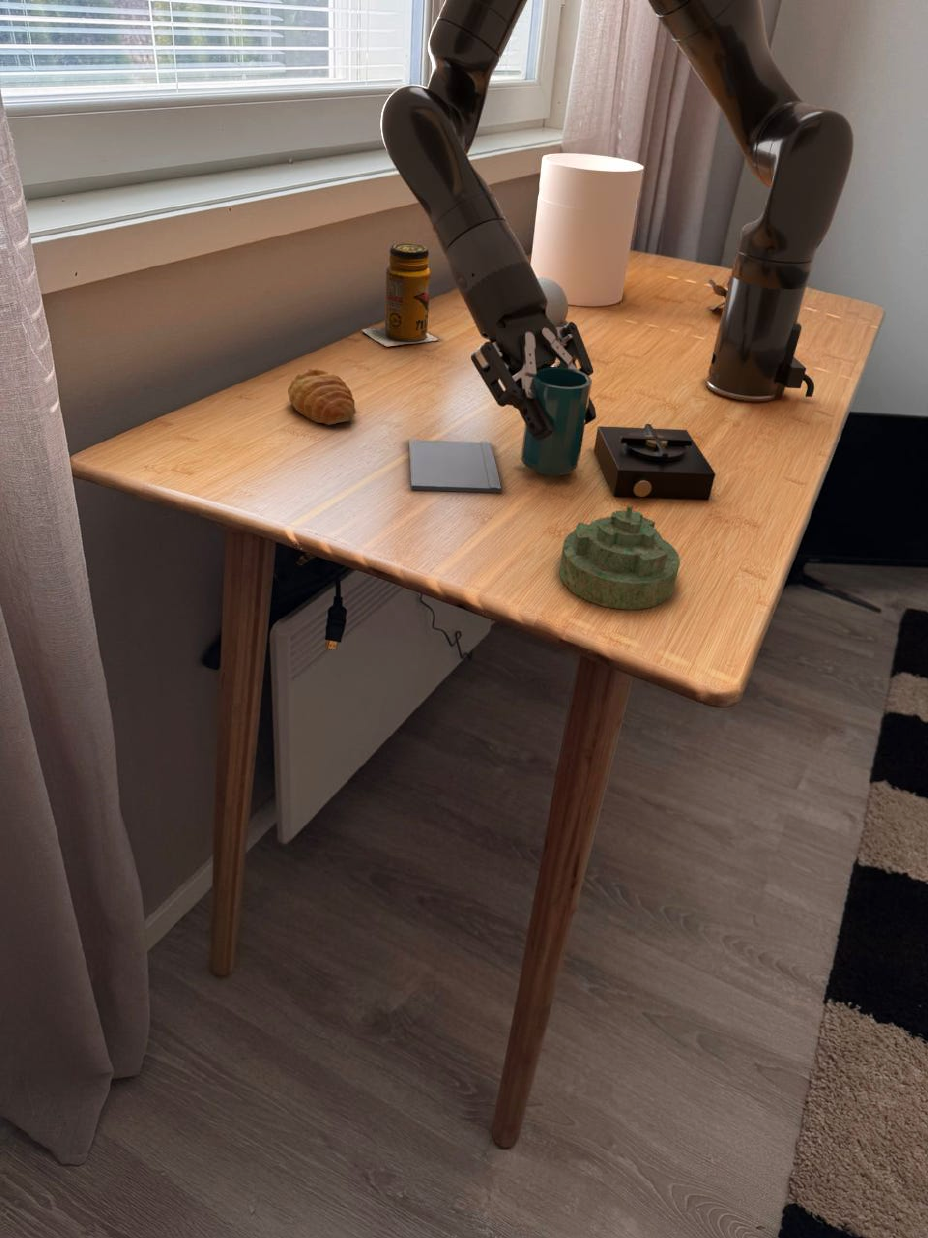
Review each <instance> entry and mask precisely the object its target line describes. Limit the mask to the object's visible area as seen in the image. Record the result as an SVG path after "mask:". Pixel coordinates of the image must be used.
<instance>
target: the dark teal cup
mask: <svg viewBox="0 0 928 1238" xmlns="http://www.w3.org/2000/svg"><path fill="white" fill-rule="evenodd" d="M536 371H537V373H536V376H535V378H533V382H534V385H535V394H536V395H535V397H534V399H536V398H539V400H540V402H541V404H542V406H543V408H544V410H545V412H546V415H547V417H548V419H549V421H550V423H551V425H552V427H553V433H552V434H551V435H549V436H548V437H546V438H545V439H542V440H540V441H537V440H535V438H534V436H532V435H531V434H530V432H529V430H528V428H527V426H526V423H525V422H524V427H523V435H522V443H521V452H520V454H521V455H520V461H521V464H523V465H524V466H525V467H526V468H527V469H529V470H532V471H534V472H536V473H540V474H546V475H565V474H569V473H570V474H571V473H572V472H575V470H577V468H578V466H579V461H580V459H581V452H582V450H581V449H582V444H583V440H584V432H585V426H586V425H585V421H586V415H587V409H588V403H589V397H590V395H591V389H592V385H593V384H592V383H593V380H592V378H591V377H590V376H588V375H586V374H585V373H583V372H580V371H577V370H574V369H569V368H564V367H544V368H539V369H537V370H536ZM590 398H591V397H590Z"/></svg>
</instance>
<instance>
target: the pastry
mask: <svg viewBox="0 0 928 1238" xmlns="http://www.w3.org/2000/svg"><path fill="white" fill-rule="evenodd" d="M287 393H288V399H289V402H290V404H291V406H292V407H293V409H294V410H295V411H297V412H298V413H299V414H302V415H303V416H304V417H306V418H307V419H310V421H313V422H315V423H321V424H325V425H328V426H330V425H335V424H337V423H343V422H344V423H345V422H350V421H352V419H353V417H354V416H355V414H356V407H355V399H354V398H353V394H352V391H351V389H350V388H349V387H348V385H347V383H346V382H345V381H343V379H342V378H341V377H340V376H338V375H334V374H329V371H326V370H324V369H319V368H309V369H307V370H305V371H303V372H302V373H298V374H297V375H296V376H295V377H294V378H293V380H292V381H291V383H290V384H289V386H288V390H287Z"/></svg>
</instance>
